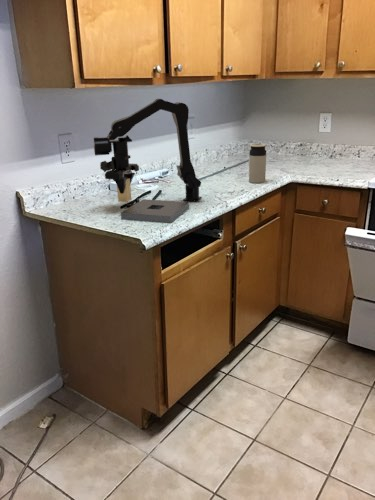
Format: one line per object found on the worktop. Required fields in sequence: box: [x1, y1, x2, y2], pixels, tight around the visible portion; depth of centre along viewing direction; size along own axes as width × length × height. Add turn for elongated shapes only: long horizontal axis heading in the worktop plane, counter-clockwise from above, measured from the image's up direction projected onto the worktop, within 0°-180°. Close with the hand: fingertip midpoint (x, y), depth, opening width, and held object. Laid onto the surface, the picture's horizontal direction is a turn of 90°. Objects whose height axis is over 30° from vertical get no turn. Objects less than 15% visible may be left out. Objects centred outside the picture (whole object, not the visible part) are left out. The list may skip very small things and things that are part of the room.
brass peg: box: [116, 178, 132, 203], centre depth 180 cm, size 4×4×9 cm
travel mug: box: [248, 143, 267, 184], centre depth 214 cm, size 8×8×18 cm
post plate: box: [120, 198, 190, 224], centre depth 171 cm, size 20×20×2 cm
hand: (124, 192), depth 181 cm, fingers closed on brass peg, 4 cm apart
